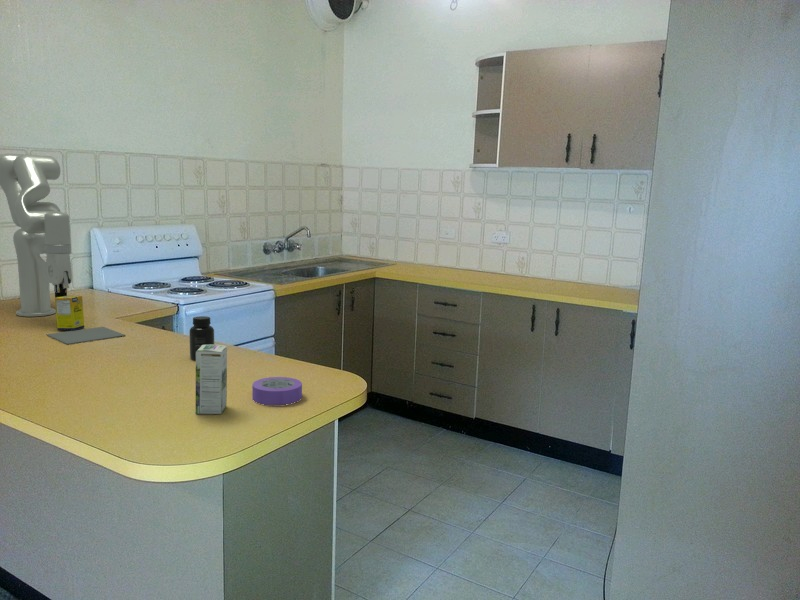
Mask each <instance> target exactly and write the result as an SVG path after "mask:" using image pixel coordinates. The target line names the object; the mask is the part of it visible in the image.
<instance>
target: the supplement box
mask: <svg viewBox="0 0 800 600" xmlns="http://www.w3.org/2000/svg"><path fill="white" fill-rule="evenodd" d="M54 304H55V310H56V312H55V317H56V326H57V327H56V328H57V331H74V330H82V329H85V320H84V319H85V316H84V305H83V296H82V295H67V296H62V297H57V298H55V297H54Z"/></svg>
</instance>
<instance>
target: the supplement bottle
mask: <svg viewBox="0 0 800 600" xmlns="http://www.w3.org/2000/svg"><path fill="white" fill-rule="evenodd" d="M192 325H193V326H191V327H190V329H189V357H190V359H191V360H193V361H196V351H197V350H198V349H199V348H200V347H201V346H202V345H209V344H213V345H215V328H214V327H213V326H211V316H206V315H205V316H204V315H203V316H193V317H192Z"/></svg>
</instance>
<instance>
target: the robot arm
mask: <svg viewBox="0 0 800 600" xmlns="http://www.w3.org/2000/svg"><path fill="white" fill-rule="evenodd" d="M60 176H61V166H60V163H59V161H58V159H56V158H55V157H54V156H49V155H37V154H23V153H21V154H20V153H2V154H0V188H1V189H2V191H3V193H4V195H5V198H6V201H7V204H8V208H9V212H10V215H11V219H12V222H13V223H14V225H15V226H16V227H19V229H17V230H15V232H14V233H13V237H12V238H13V240H12V241H13V245H14V248H15V254H16V259H17V268H18V269H17V270H18V284H19V301H20V309H18V310H16V311H15V314H16V315H17V316H19V317H27V318H29V317H31V318H32V317H45V316H50V315H53V314H56V308H53V307H51V292H50V291H51V289H50V284H52V286H53V290H54V299H55V298H57V297H62V296H68V294H67V293H68V288H69V287H70V285H69V284H71V283H72V281H73V273H72V271H73V270H72V262H71V255H72V244H71V223H70V216H69V214H68V213H66V212H62V211H61V209H60V207H59V206H58V205H57V203H54V202H51V201H41V200H44V199H45V198H47V197H48V196H49V194H51V193H50V192H51V187H50V184H49V182H48V180H49V181H51V180H53V181H54V180H57V179H59V177H60ZM44 254H45V255H46V259H44V258H43V257H41V255H44Z"/></svg>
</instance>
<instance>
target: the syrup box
mask: <svg viewBox="0 0 800 600" xmlns="http://www.w3.org/2000/svg"><path fill="white" fill-rule="evenodd" d="M227 372H228V346H227V345H223V344H214V345H213V344H209V345H202V346H201V347H200V348H199V349H198V350H197V351H196V360H195V414H196V415H222V414H223V412H224V410H225V409H226V407H227V394H228V393H227V392H228V391H227V390H228V389H227V388H228V387H227V385H228V383H227V382H228V378H227V377H228V376H227V374H228V373H227Z"/></svg>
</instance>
